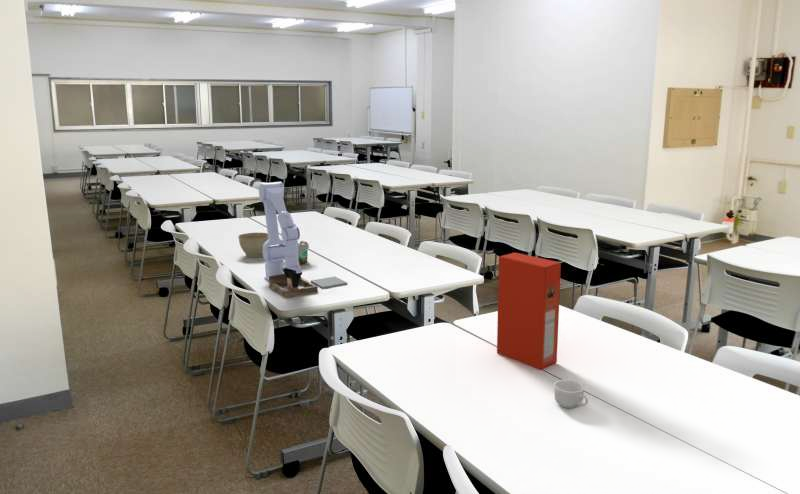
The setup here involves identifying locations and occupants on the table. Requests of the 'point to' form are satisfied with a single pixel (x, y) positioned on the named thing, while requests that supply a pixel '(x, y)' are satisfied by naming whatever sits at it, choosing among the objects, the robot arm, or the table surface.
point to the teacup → (569, 393)
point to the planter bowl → (253, 243)
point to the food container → (303, 252)
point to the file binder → (528, 309)
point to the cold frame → (281, 280)
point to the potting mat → (328, 282)
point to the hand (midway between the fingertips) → (292, 285)
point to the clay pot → (290, 284)
